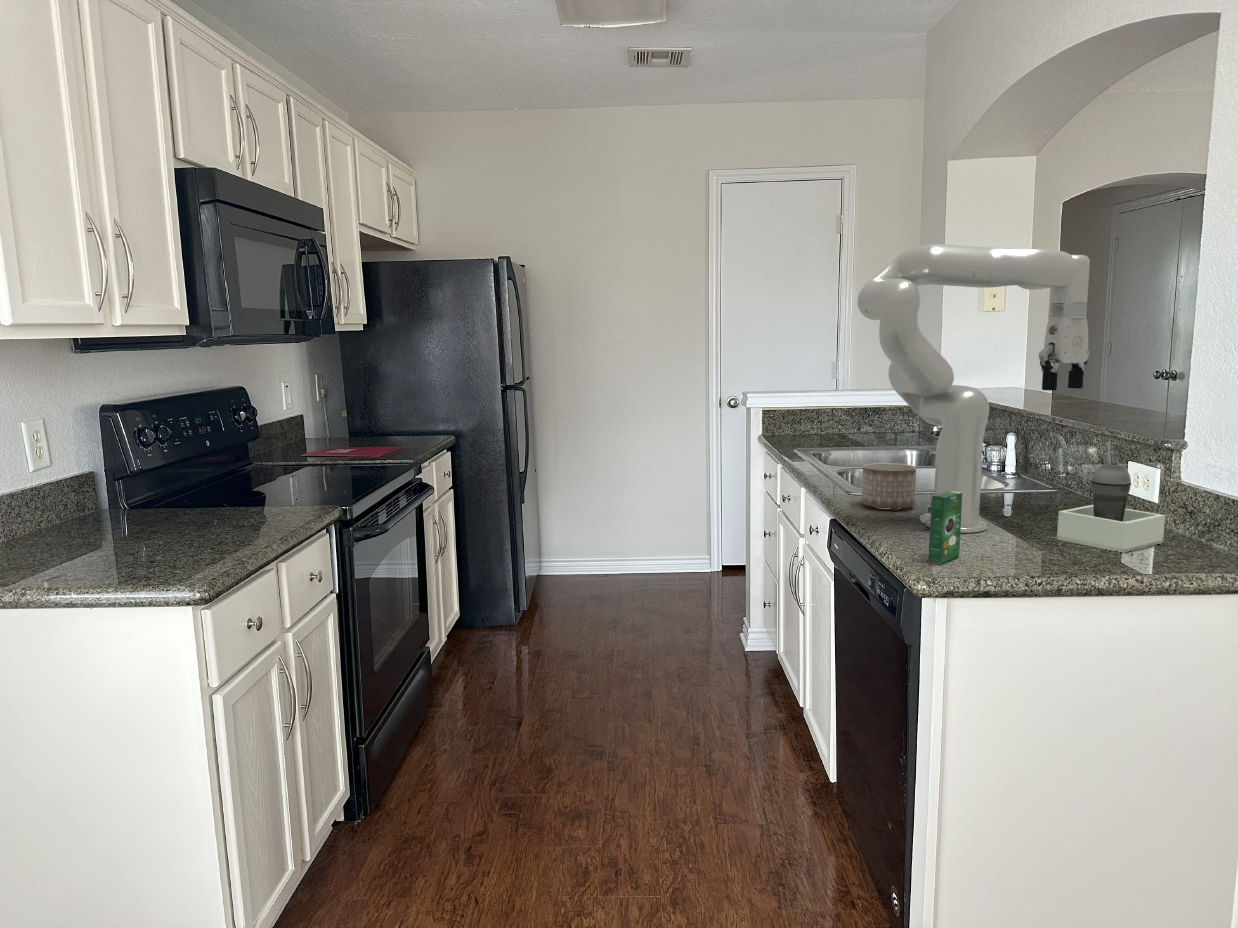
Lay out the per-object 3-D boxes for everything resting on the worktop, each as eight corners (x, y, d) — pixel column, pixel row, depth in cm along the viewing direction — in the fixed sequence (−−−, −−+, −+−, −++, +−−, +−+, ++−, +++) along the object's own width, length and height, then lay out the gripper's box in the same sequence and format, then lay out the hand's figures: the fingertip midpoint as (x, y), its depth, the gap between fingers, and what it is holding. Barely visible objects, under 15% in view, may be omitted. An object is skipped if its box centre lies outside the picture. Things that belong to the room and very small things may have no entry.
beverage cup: (1111, 543, 173) (1119, 444, 170) (1078, 535, 179) (1085, 441, 176) (1135, 539, 176) (1143, 442, 173) (1102, 532, 182) (1109, 438, 179)
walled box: (1124, 553, 168) (1126, 523, 167) (1056, 539, 180) (1058, 511, 179) (1162, 543, 175) (1165, 515, 174) (1095, 530, 187) (1097, 503, 186)
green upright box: (946, 554, 169) (949, 489, 167) (960, 557, 167) (963, 491, 165) (926, 562, 164) (929, 494, 162) (941, 565, 162) (944, 496, 160)
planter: (922, 506, 216) (924, 465, 215) (902, 514, 207) (904, 472, 205) (874, 500, 224) (875, 461, 223) (853, 508, 215) (854, 467, 213)
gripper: (1059, 311, 183) (1054, 391, 186) (1106, 311, 192) (1100, 388, 194) (1027, 312, 189) (1023, 390, 192) (1074, 312, 198) (1069, 387, 201)
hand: (1062, 389), depth 193 cm, fingers open, 9 cm apart
